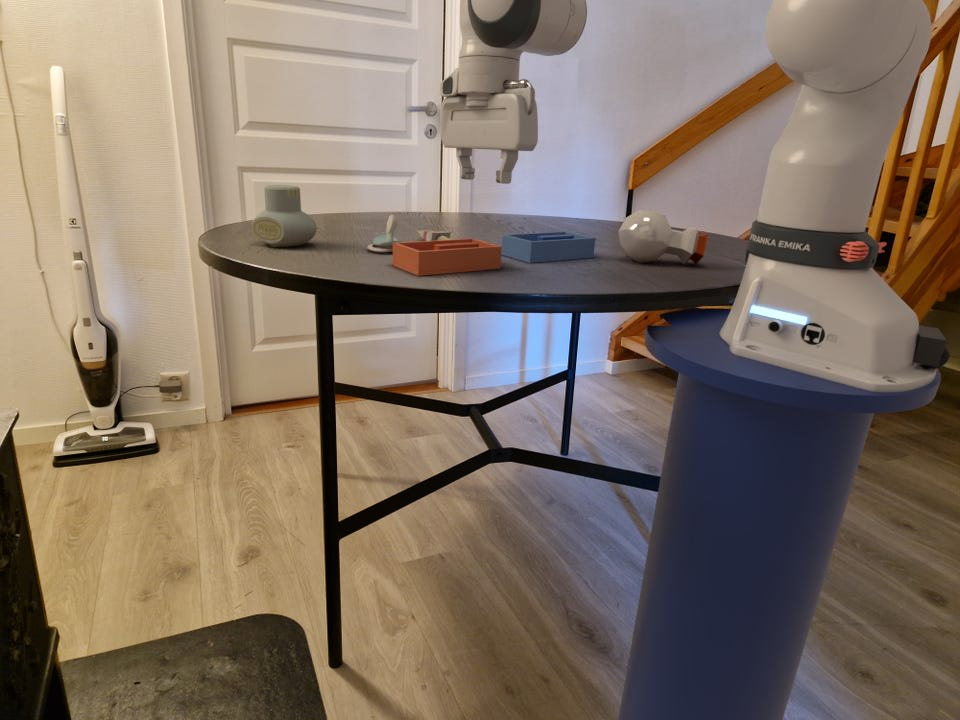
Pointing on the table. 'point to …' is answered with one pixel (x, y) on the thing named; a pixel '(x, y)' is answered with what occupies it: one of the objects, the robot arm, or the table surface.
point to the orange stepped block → (455, 245)
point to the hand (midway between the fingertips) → (484, 181)
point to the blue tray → (547, 247)
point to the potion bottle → (659, 238)
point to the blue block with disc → (554, 237)
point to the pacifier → (386, 238)
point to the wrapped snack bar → (434, 235)
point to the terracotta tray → (445, 257)
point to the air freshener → (283, 218)
